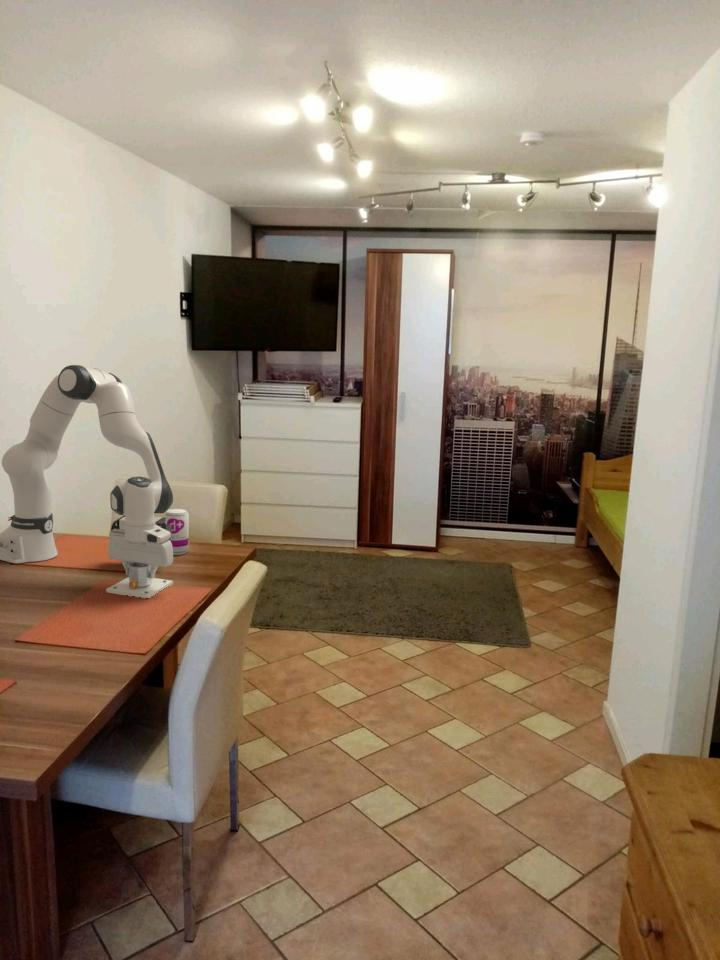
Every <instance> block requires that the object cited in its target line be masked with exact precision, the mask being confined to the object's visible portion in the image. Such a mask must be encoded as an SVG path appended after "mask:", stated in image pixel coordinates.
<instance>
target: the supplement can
mask: <svg viewBox="0 0 720 960" xmlns="http://www.w3.org/2000/svg"><path fill="white" fill-rule="evenodd" d="M164 517H165V518H166V522H167V524H169V525H170V526H171V529H172V536H171V540H170V541H171V543H172V547H173V556H181V555H185V554H188V552H189V550H190V549H189V547H190V543H189V542H190V539H189V538H190V535H189V533H190V527H189V526H190V515H189V512H188V510H187V509H184V508H169V509H168V510H167V511H166V512H164Z"/></svg>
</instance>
